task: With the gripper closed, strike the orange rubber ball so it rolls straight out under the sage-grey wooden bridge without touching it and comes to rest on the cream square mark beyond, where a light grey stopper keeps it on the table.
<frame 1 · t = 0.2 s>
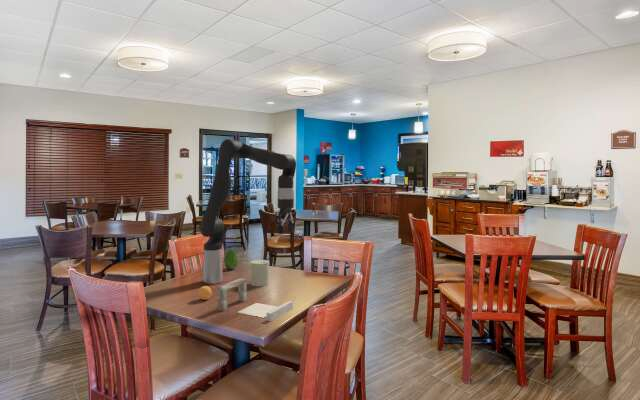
hand: (285, 232, 181), 29 cm above the table, tool pointing down, fingers open, 8 cm apart
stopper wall: (280, 314, 156), on the table
bridge: (233, 305, 167), on the table
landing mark: (259, 310, 161), on the table
can: (260, 284, 199), on the table
ball: (204, 292, 174), on the table
avocado: (231, 269, 231), on the table
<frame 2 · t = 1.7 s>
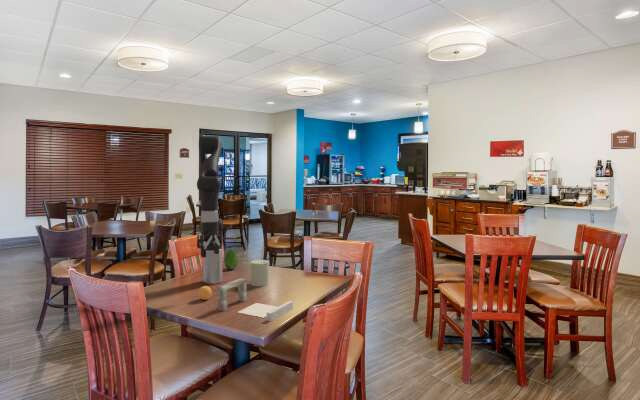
hand: (210, 255, 178), 19 cm above the table, tool pointing down, fingers open, 8 cm apart
nothing on the table moved.
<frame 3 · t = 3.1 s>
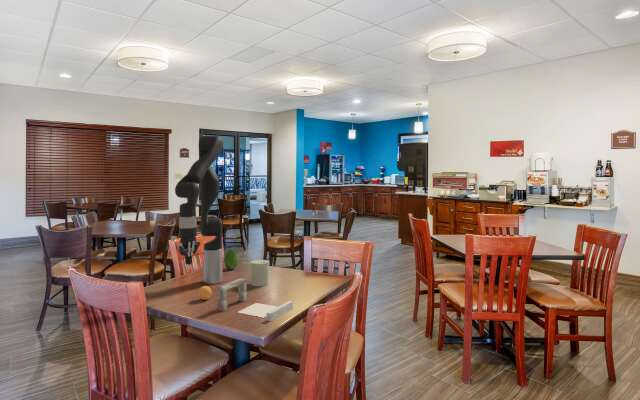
hand: (188, 264, 178), 15 cm above the table, tool pointing down, fingers closed
nothing on the table moved.
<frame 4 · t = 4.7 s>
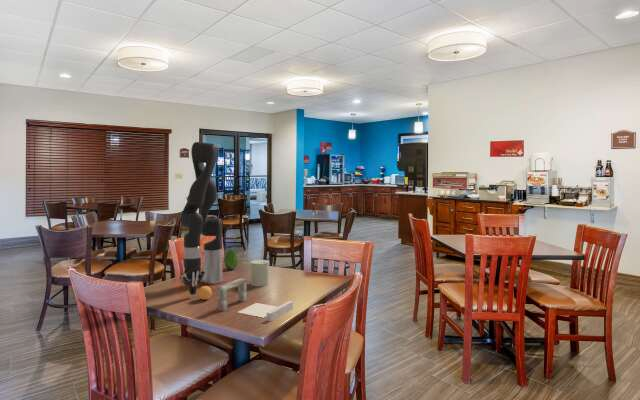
hand: (192, 294, 177), 2 cm above the table, tool pointing down, fingers closed
nothing on the table moved.
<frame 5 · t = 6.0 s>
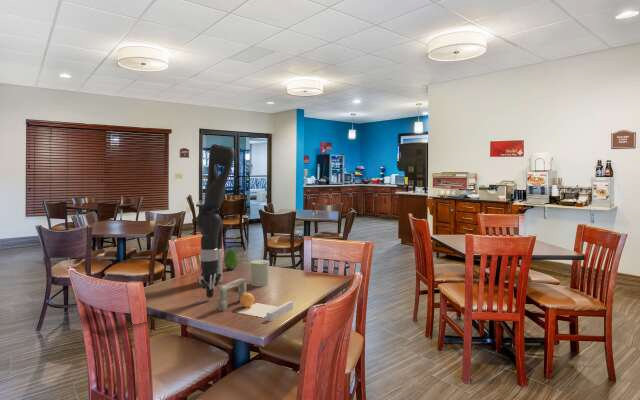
hand: (210, 297, 173), 2 cm above the table, tool pointing down, fingers closed
ball: (247, 300, 164), on the table
everything else where it was.
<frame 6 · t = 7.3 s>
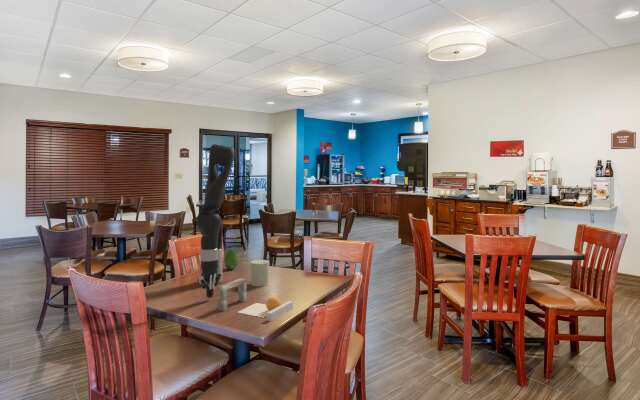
hand: (210, 297, 173), 2 cm above the table, tool pointing down, fingers closed
ball: (273, 304, 159), on the table
everything else where it was.
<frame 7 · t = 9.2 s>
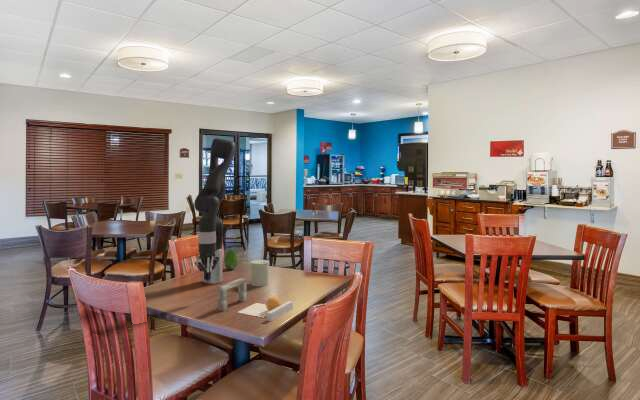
hand: (207, 280, 172), 9 cm above the table, tool pointing down, fingers closed
nothing on the table moved.
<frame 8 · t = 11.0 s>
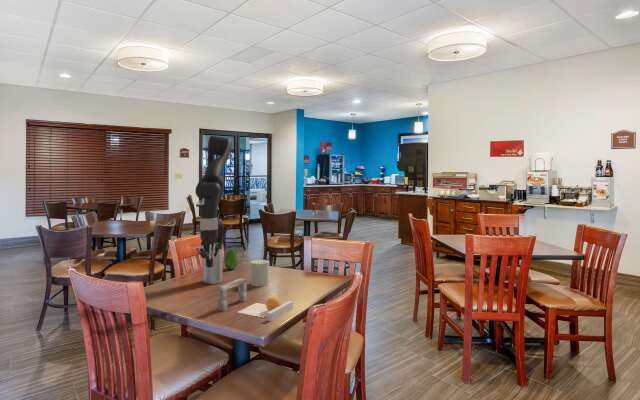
hand: (209, 267, 172), 15 cm above the table, tool pointing down, fingers closed
nothing on the table moved.
at the end: ball 6.0 cm from the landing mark (horizontally); ball never touched bridge; ball at rest at the end (0.0 cm/s) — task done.
